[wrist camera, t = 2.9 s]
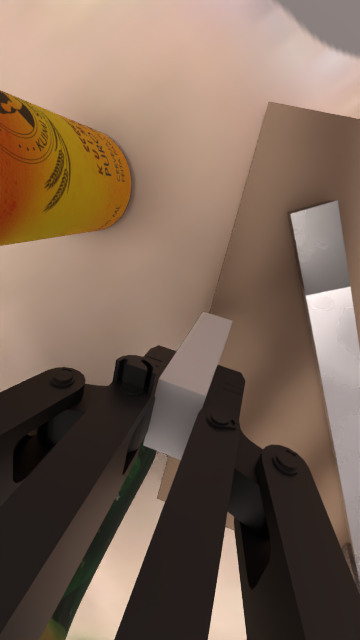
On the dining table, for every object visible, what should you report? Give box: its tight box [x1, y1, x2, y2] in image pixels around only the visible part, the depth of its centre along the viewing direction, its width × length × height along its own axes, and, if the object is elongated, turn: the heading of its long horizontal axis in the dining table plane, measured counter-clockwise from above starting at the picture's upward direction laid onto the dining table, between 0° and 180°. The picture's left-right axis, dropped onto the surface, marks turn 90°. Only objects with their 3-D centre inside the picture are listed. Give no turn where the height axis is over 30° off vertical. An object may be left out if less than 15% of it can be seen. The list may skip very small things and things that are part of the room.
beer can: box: [0, 91, 131, 246], centre depth 15 cm, size 6×6×15 cm
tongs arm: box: [287, 200, 360, 581], centre depth 19 cm, size 24×2×3 cm, turn 17°
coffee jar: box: [39, 437, 156, 640], centre depth 21 cm, size 10×8×19 cm
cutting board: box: [157, 102, 360, 548], centre depth 21 cm, size 22×30×2 cm
